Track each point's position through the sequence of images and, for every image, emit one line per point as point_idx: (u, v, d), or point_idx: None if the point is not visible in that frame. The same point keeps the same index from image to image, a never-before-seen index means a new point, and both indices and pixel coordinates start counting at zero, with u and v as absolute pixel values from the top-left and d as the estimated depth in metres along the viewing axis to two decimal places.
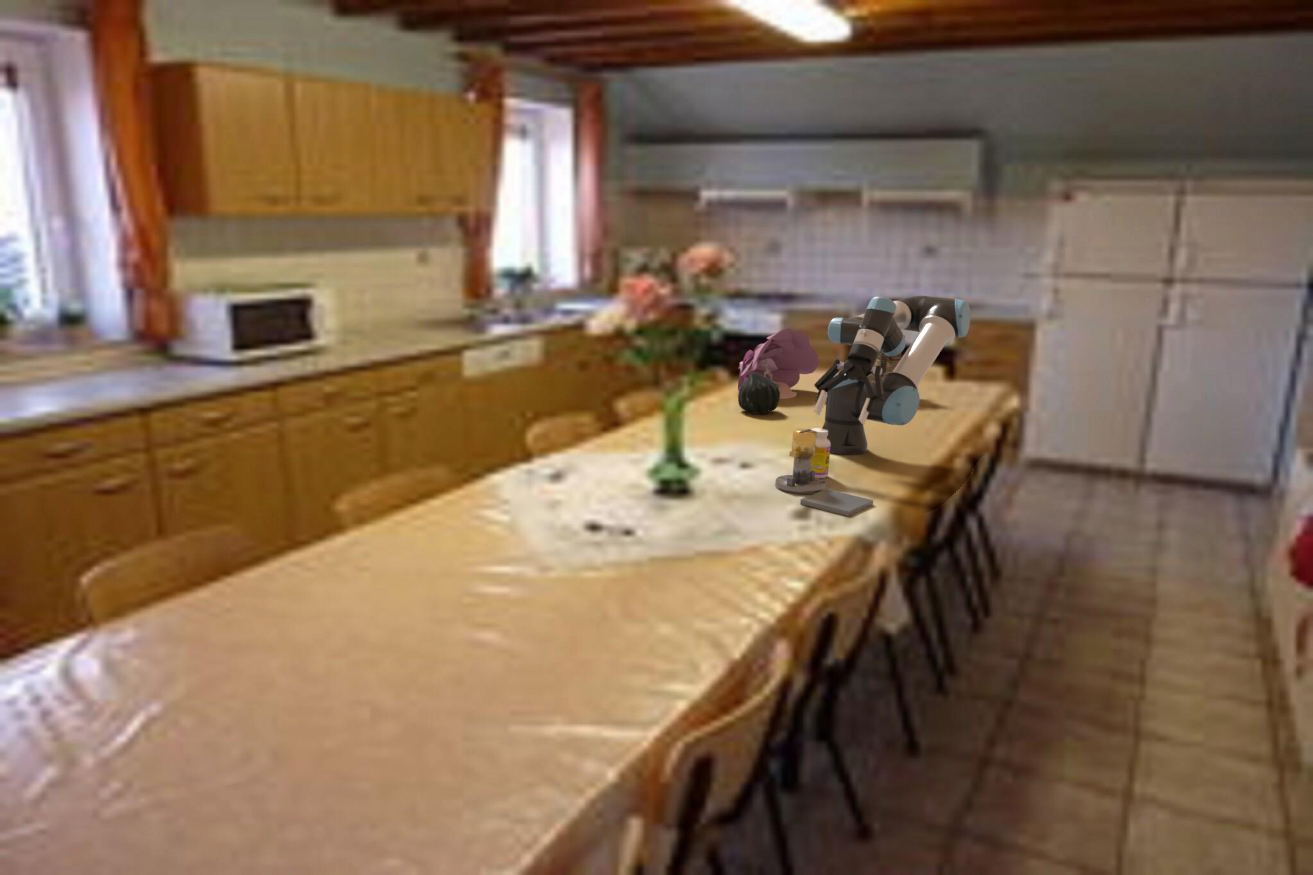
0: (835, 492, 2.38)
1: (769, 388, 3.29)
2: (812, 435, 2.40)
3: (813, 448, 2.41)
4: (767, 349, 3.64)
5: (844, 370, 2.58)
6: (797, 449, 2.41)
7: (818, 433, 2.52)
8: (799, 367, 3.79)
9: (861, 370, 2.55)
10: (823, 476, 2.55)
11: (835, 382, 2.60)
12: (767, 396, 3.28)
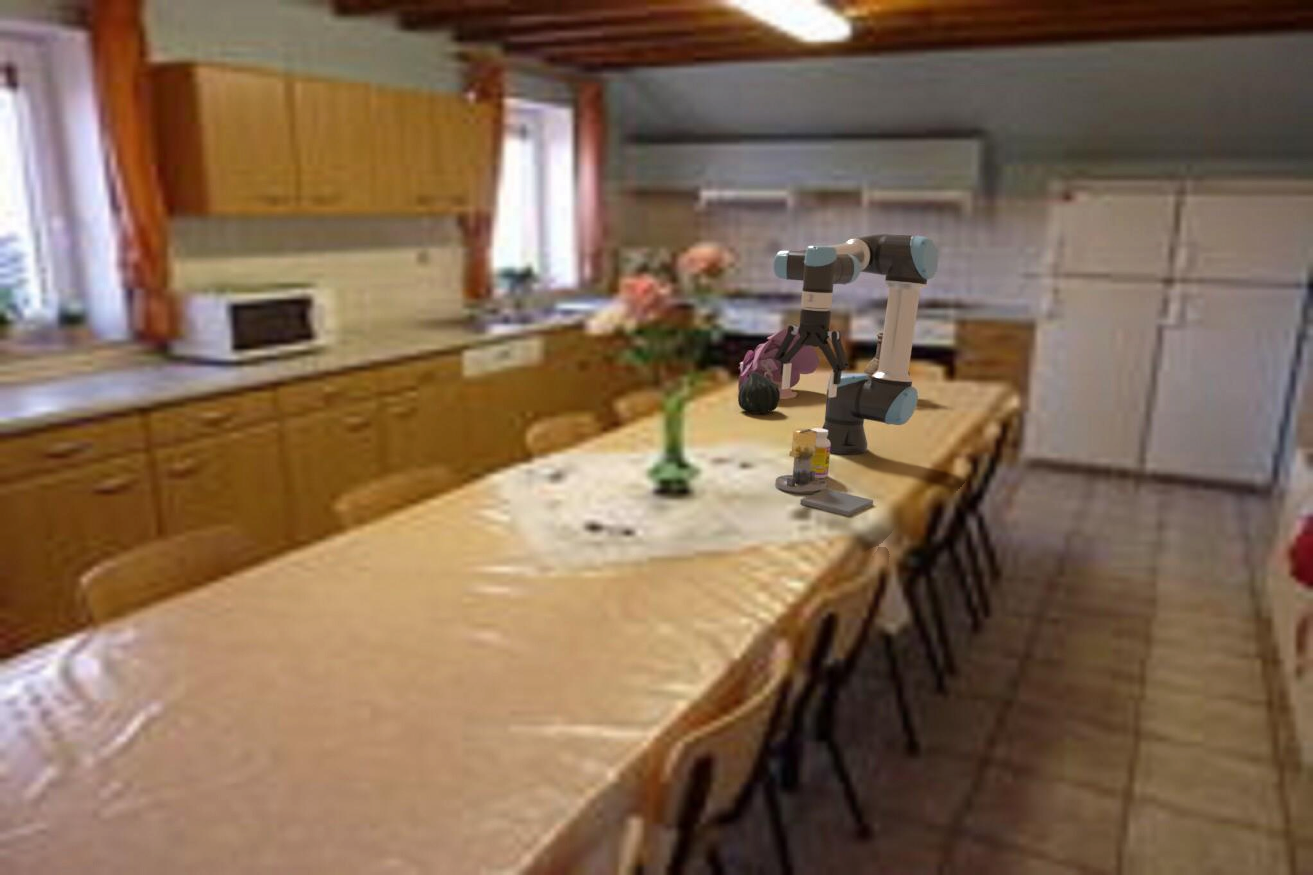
0: (835, 492, 2.38)
1: (769, 388, 3.29)
2: (812, 435, 2.40)
3: (813, 448, 2.41)
4: (767, 349, 3.63)
5: (800, 340, 2.37)
6: (797, 449, 2.41)
7: (818, 433, 2.52)
8: (799, 367, 3.79)
9: (817, 339, 2.34)
10: (823, 476, 2.55)
11: (795, 351, 2.41)
12: (767, 396, 3.28)
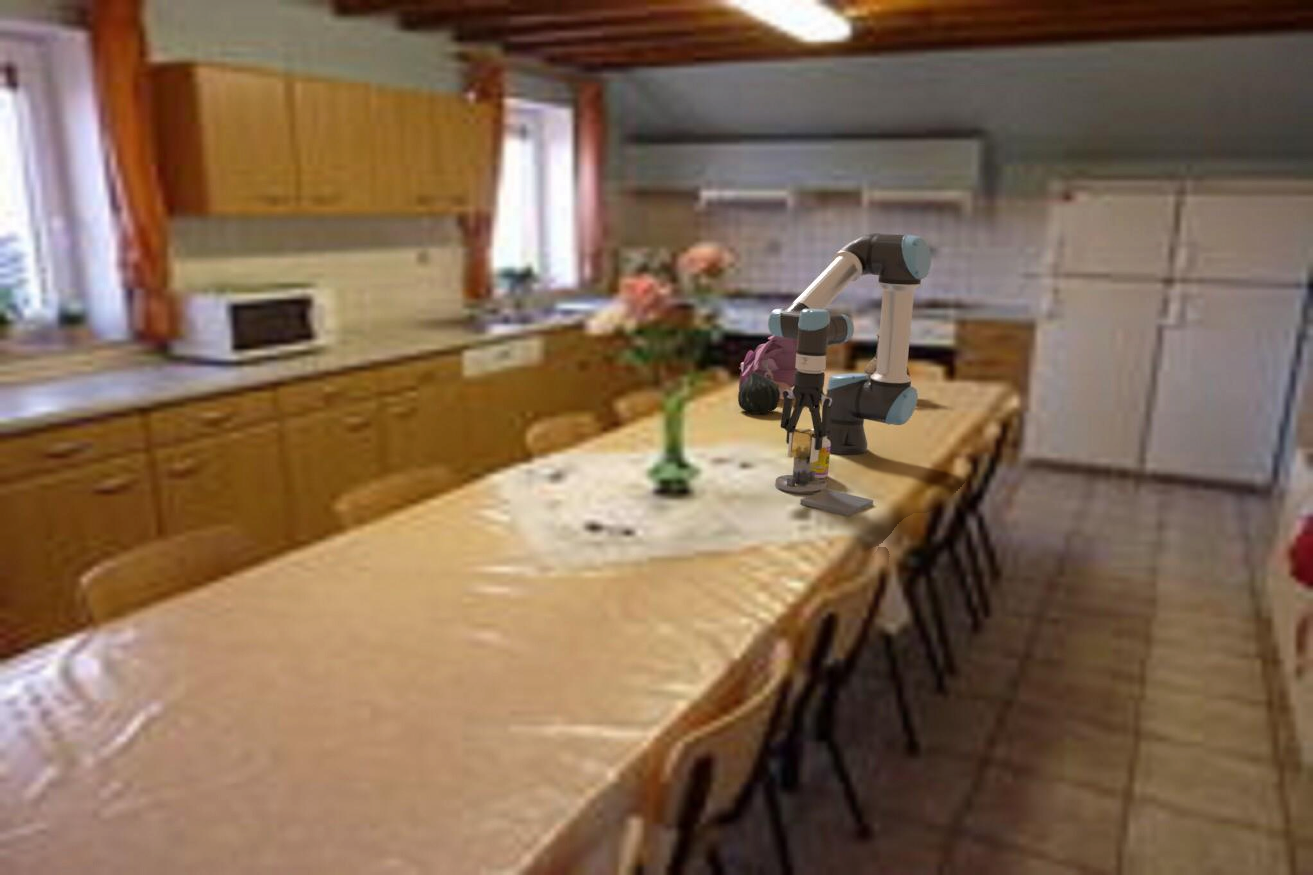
0: (835, 492, 2.38)
1: (769, 388, 3.29)
2: (812, 435, 2.40)
3: None
4: (768, 349, 3.63)
5: (797, 403, 2.40)
6: (797, 449, 2.41)
7: None
8: None
9: (810, 402, 2.38)
10: (823, 476, 2.55)
11: (797, 416, 2.43)
12: (767, 396, 3.28)
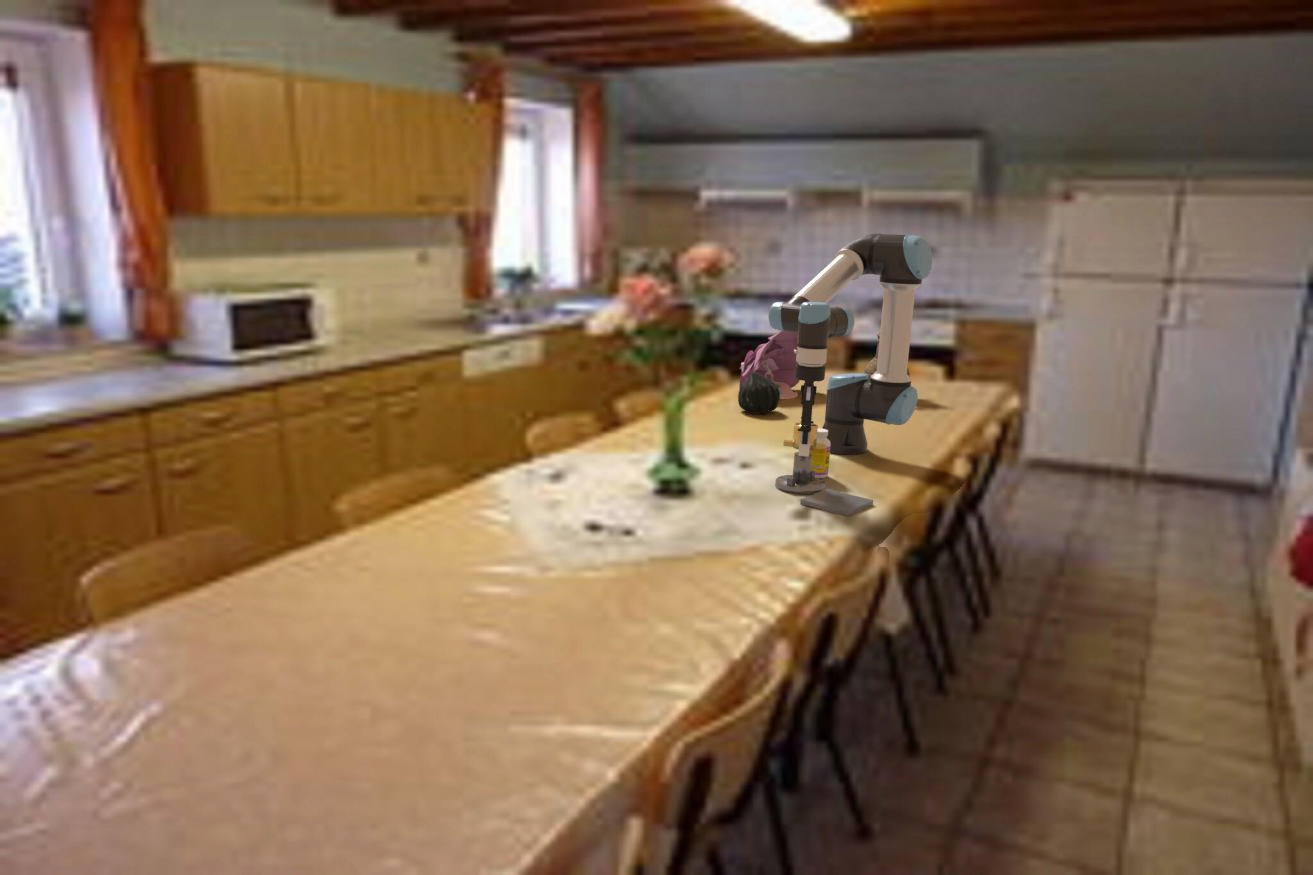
0: (835, 492, 2.38)
1: (769, 388, 3.29)
2: None
3: None
4: (768, 349, 3.63)
5: None
6: None
7: (818, 433, 2.52)
8: None
9: (801, 394, 2.39)
10: (823, 476, 2.55)
11: None
12: (767, 396, 3.28)
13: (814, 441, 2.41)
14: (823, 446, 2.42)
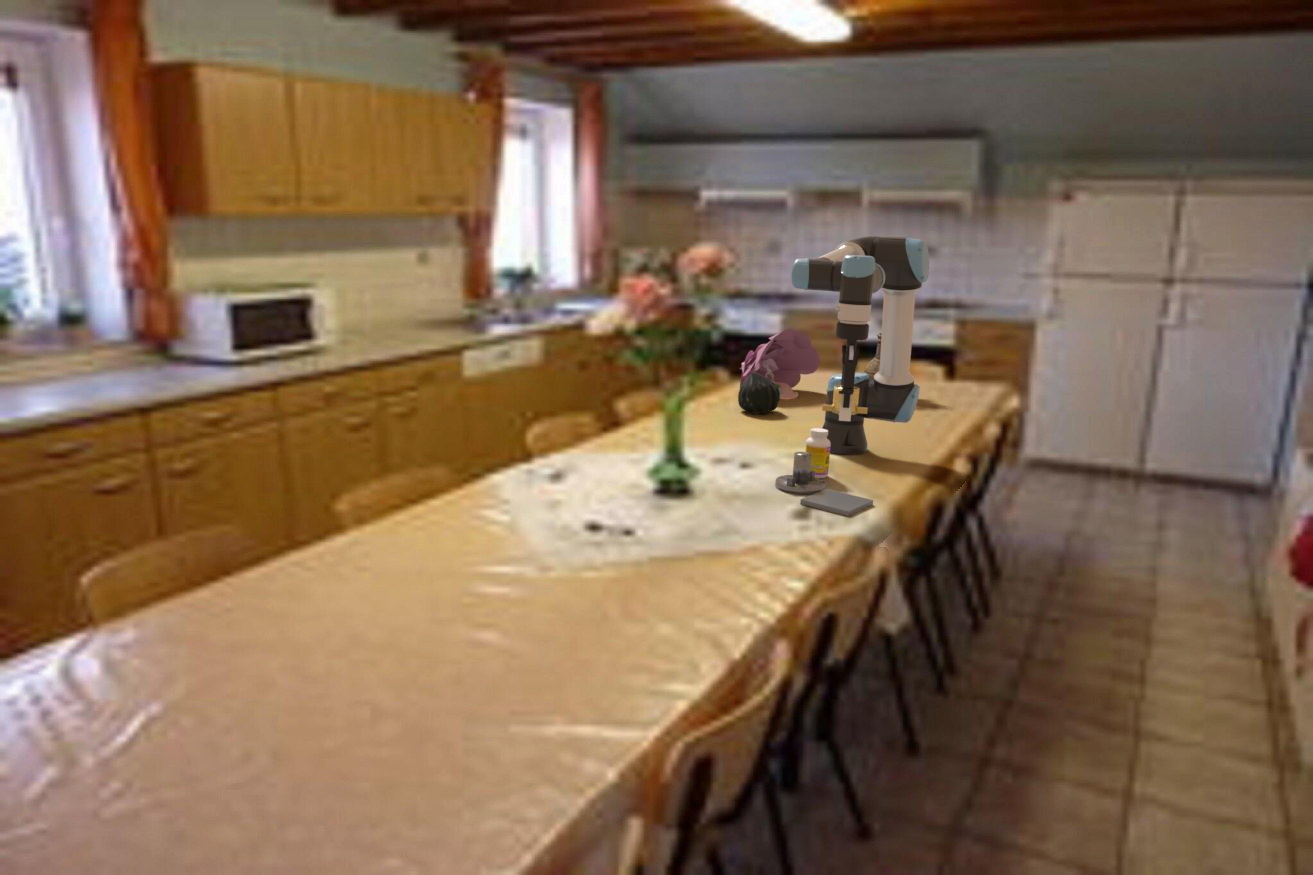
0: (835, 492, 2.38)
1: (769, 388, 3.29)
2: None
3: None
4: (769, 349, 3.63)
5: (842, 355, 2.26)
6: (832, 404, 2.27)
7: (818, 433, 2.52)
8: (800, 367, 3.78)
9: (842, 354, 2.23)
10: (823, 476, 2.55)
11: None
12: (767, 396, 3.28)
13: (856, 405, 2.25)
14: (865, 410, 2.26)
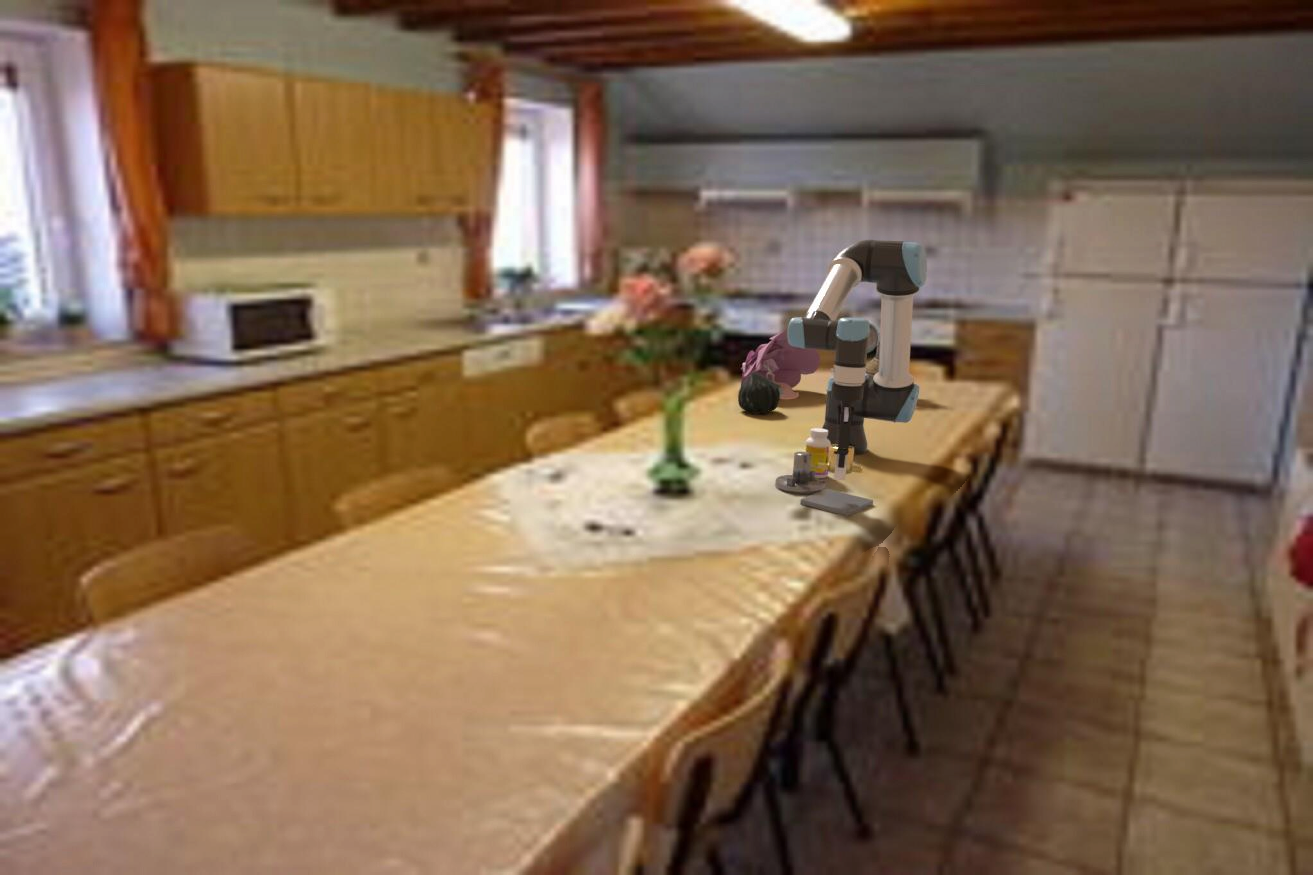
0: (835, 492, 2.38)
1: (769, 388, 3.29)
2: None
3: None
4: (770, 350, 3.62)
5: (837, 415, 2.30)
6: None
7: (818, 433, 2.52)
8: (801, 367, 3.78)
9: (837, 415, 2.26)
10: (823, 476, 2.55)
11: None
12: (767, 396, 3.28)
13: (850, 464, 2.28)
14: (860, 470, 2.29)
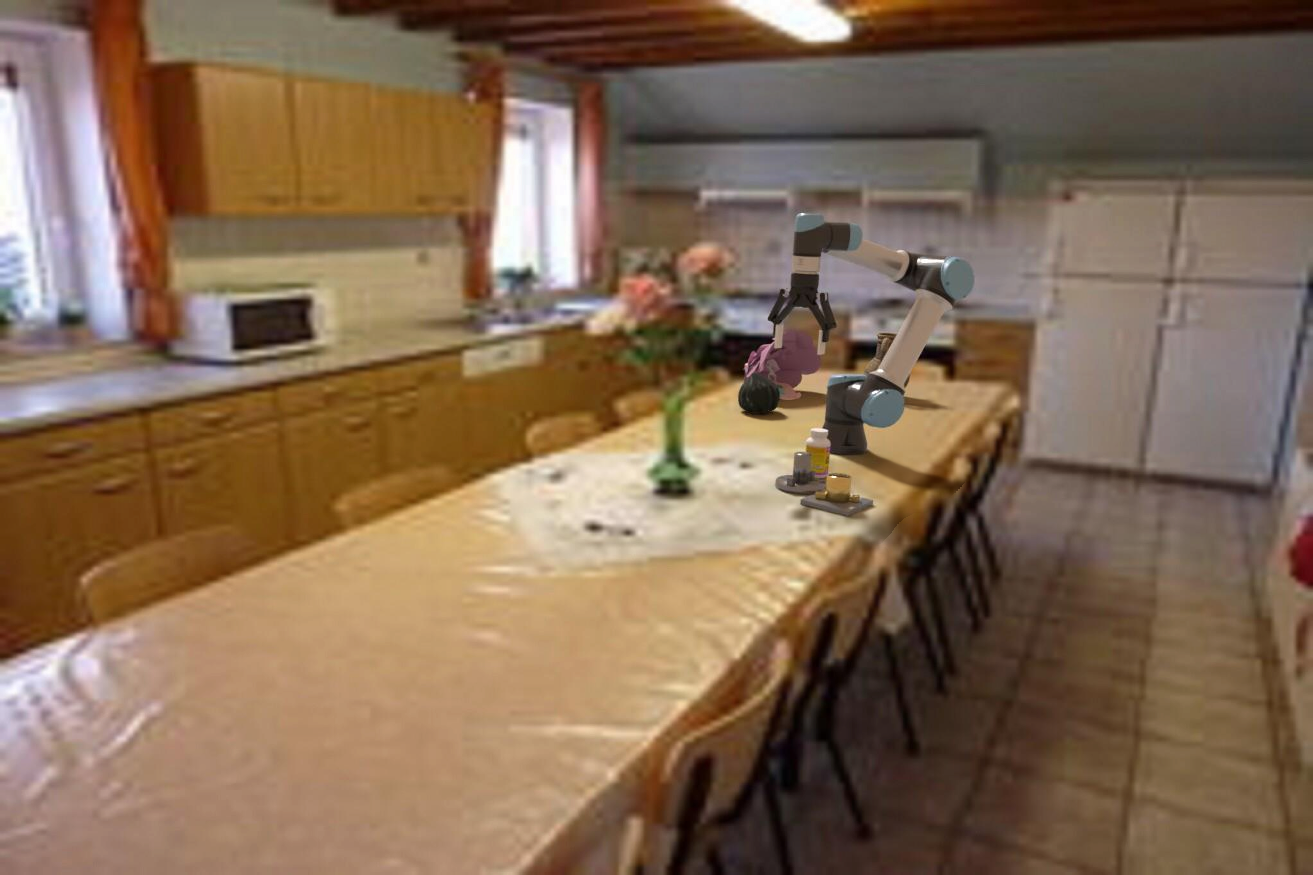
0: None
1: (769, 388, 3.29)
2: (835, 480, 2.29)
3: (837, 495, 2.29)
4: (772, 350, 3.62)
5: (791, 302, 2.55)
6: (825, 492, 2.33)
7: (818, 433, 2.52)
8: (802, 368, 3.78)
9: (806, 300, 2.52)
10: (823, 476, 2.55)
11: (786, 313, 2.59)
12: (767, 396, 3.28)
13: (848, 493, 2.30)
14: (857, 499, 2.31)
